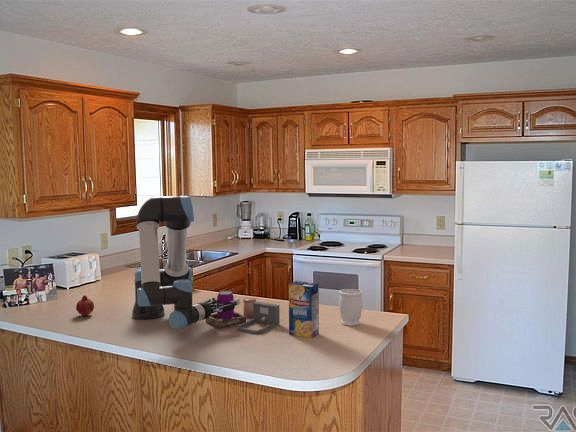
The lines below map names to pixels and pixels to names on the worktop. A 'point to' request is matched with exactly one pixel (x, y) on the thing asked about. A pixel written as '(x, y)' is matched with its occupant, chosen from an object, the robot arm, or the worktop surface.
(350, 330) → the worktop surface
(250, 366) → the worktop surface
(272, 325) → the checker cradle
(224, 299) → the beverage can
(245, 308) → the cup
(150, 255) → the robot arm
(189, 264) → the coffee can
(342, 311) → the jar
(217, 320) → the wooden tray
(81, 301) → the fruit
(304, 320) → the beverage box
